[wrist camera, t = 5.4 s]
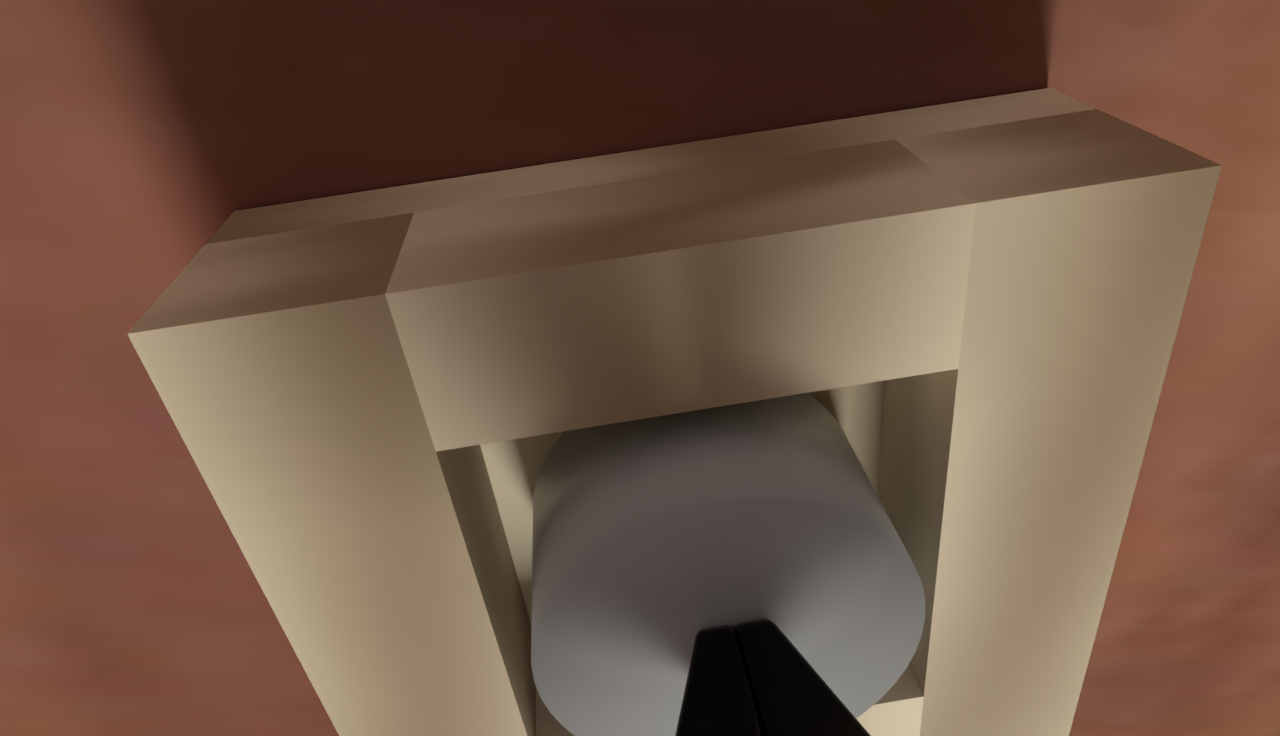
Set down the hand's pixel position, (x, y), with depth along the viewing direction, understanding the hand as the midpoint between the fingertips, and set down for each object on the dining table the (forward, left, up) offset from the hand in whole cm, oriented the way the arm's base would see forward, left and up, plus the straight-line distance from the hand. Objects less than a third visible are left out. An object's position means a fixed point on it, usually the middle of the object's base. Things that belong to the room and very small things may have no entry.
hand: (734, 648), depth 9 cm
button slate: (0, 0, -2) cm, 2 cm away
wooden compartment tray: (0, +7, -4) cm, 8 cm away
